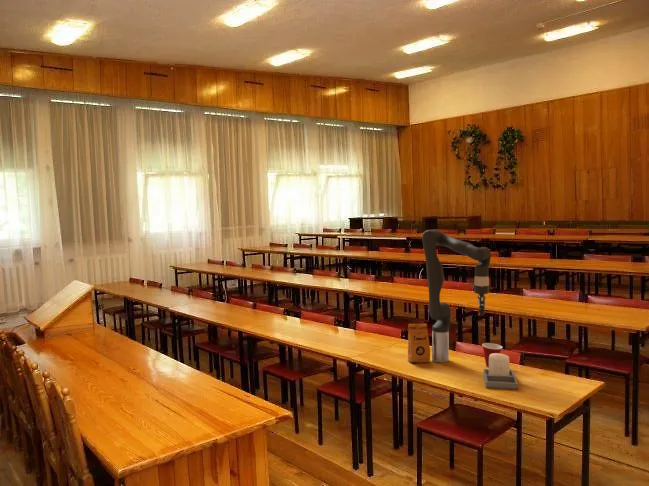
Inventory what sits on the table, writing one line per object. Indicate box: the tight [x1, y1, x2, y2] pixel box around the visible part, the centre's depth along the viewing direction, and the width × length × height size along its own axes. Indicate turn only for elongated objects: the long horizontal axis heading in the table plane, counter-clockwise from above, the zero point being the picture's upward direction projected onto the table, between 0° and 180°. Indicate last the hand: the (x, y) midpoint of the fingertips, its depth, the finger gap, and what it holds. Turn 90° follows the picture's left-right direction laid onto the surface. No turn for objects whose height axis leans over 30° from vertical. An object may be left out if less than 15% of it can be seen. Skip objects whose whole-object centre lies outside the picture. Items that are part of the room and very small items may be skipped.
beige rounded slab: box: [488, 352, 511, 376], centre depth 280 cm, size 10×4×12 cm, turn 63°
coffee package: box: [407, 323, 431, 364], centre depth 312 cm, size 10×12×22 cm
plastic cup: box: [481, 342, 503, 368], centre depth 300 cm, size 11×11×12 cm
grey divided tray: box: [482, 368, 519, 391], centre depth 276 cm, size 15×21×3 cm
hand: (481, 314), depth 295 cm, fingers open, 8 cm apart
